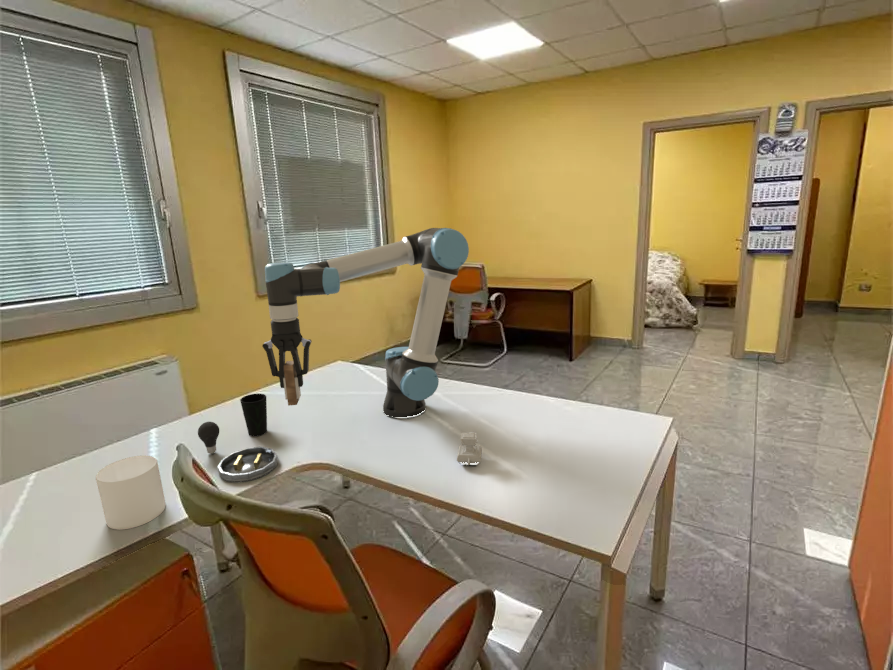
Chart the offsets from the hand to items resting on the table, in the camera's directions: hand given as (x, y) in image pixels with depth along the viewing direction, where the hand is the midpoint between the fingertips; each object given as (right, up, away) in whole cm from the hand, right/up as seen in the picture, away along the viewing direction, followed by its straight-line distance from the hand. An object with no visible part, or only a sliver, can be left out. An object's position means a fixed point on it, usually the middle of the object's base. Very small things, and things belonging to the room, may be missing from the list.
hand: (293, 397), depth 132 cm
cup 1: (-28, -24, -25) cm, 45 cm away
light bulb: (-25, -17, +2) cm, 30 cm away
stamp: (+51, -18, -5) cm, 54 cm away
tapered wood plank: (0, -1, 0) cm, 2 cm away
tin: (-10, -19, -6) cm, 22 cm away
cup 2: (-16, -14, +15) cm, 26 cm away
